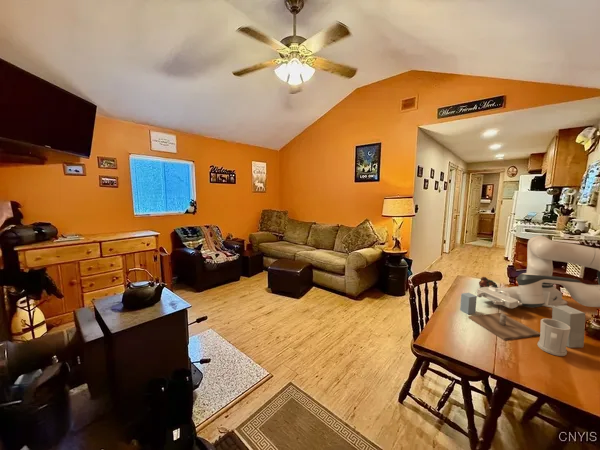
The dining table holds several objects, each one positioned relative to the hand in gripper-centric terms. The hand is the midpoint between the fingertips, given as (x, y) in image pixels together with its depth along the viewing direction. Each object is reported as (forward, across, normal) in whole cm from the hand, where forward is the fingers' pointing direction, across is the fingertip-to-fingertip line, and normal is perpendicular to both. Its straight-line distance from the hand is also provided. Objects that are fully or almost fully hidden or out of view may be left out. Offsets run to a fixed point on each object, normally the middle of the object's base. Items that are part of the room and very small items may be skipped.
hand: (485, 299), depth 141 cm
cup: (+7, -36, -6) cm, 38 cm away
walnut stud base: (+8, -16, -6) cm, 19 cm away
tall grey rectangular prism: (+12, 0, -6) cm, 14 cm away
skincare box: (-5, -34, -6) cm, 35 cm away
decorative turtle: (-25, +19, -6) cm, 32 cm away
